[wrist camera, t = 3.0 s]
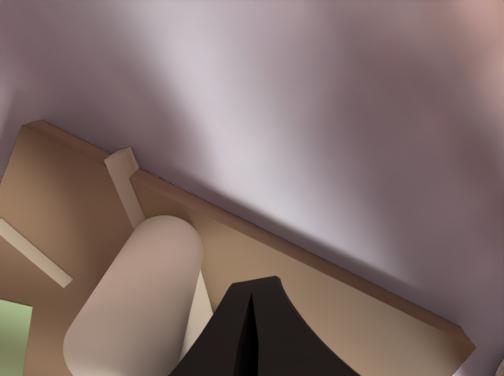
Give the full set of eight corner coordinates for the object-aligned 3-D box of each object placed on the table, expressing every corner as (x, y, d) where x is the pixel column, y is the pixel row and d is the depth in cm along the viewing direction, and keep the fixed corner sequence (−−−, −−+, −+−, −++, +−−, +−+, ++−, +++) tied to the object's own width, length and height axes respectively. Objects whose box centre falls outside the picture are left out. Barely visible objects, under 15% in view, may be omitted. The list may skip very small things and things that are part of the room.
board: (298, 520, 19) (302, 551, 18) (-74, 380, 16) (-99, 405, 15) (468, 316, 16) (486, 337, 14) (28, 95, 13) (6, 100, 12)
